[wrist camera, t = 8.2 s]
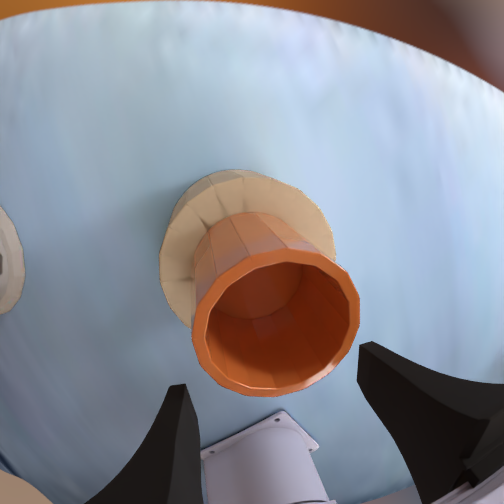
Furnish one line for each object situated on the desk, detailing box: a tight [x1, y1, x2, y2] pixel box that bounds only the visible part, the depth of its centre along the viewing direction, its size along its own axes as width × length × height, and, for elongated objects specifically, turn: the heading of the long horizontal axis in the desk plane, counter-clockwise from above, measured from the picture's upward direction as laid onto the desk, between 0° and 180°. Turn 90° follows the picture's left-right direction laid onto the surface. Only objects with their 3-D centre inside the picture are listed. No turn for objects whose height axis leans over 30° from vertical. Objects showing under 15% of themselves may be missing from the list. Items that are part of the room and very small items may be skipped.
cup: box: [191, 212, 360, 397], centre depth 12 cm, size 5×5×6 cm
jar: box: [159, 170, 336, 329], centre depth 17 cm, size 8×8×6 cm
